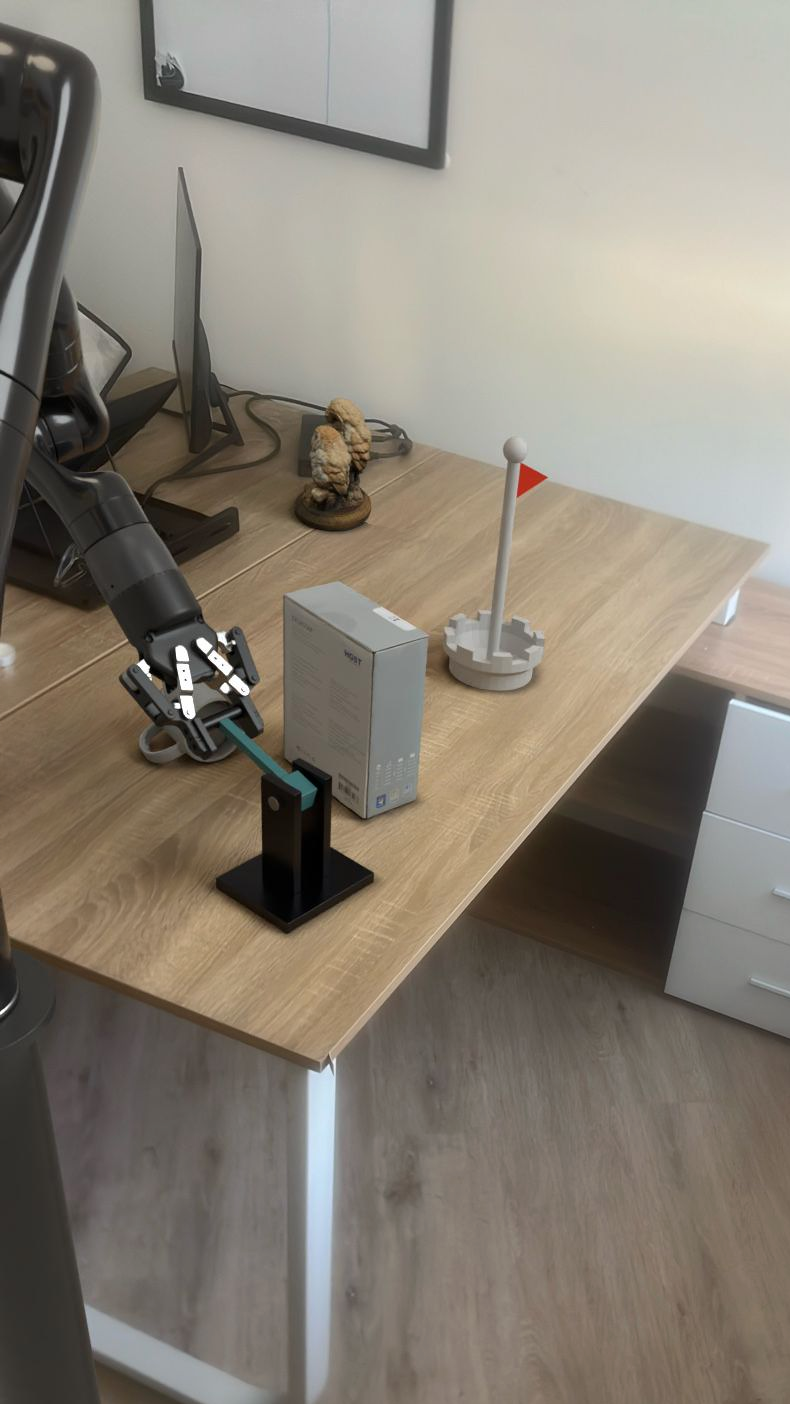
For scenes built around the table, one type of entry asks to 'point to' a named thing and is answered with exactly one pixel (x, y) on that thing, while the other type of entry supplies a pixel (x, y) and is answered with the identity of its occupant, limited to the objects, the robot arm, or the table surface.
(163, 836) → the table surface
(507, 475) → the flag stand
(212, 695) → the ceramic mug
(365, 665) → the hard drive box
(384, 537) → the table surface
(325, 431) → the owl figurine
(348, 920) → the table surface
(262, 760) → the switch lever
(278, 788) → the switch bracket
